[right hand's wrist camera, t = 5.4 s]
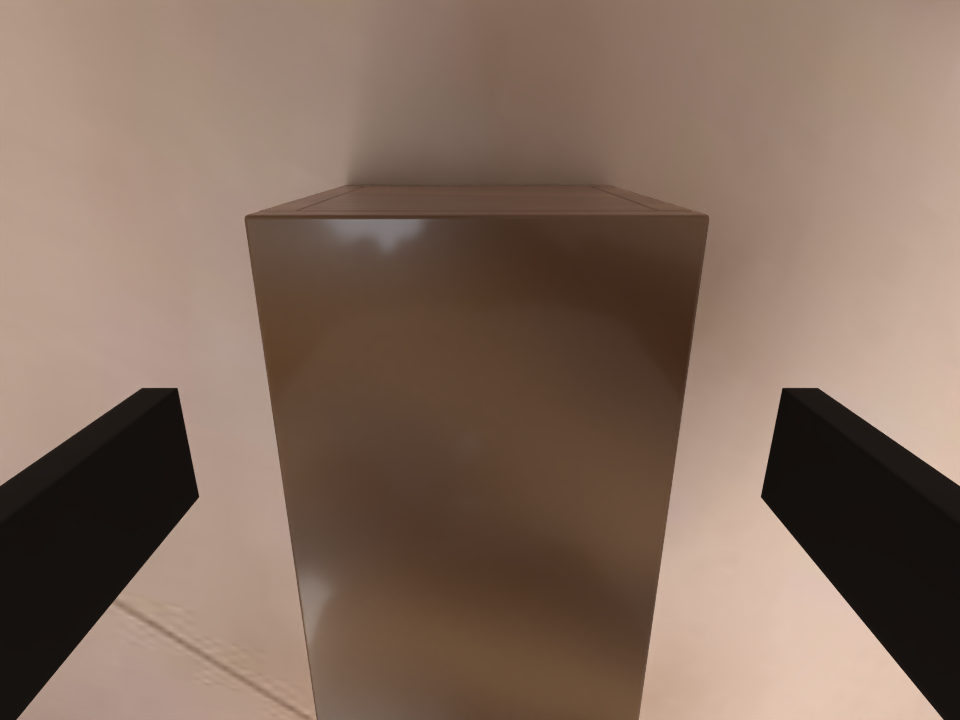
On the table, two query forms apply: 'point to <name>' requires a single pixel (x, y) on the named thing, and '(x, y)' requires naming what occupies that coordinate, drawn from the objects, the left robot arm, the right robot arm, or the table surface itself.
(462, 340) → the cabinet
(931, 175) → the table surface
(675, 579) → the table surface
